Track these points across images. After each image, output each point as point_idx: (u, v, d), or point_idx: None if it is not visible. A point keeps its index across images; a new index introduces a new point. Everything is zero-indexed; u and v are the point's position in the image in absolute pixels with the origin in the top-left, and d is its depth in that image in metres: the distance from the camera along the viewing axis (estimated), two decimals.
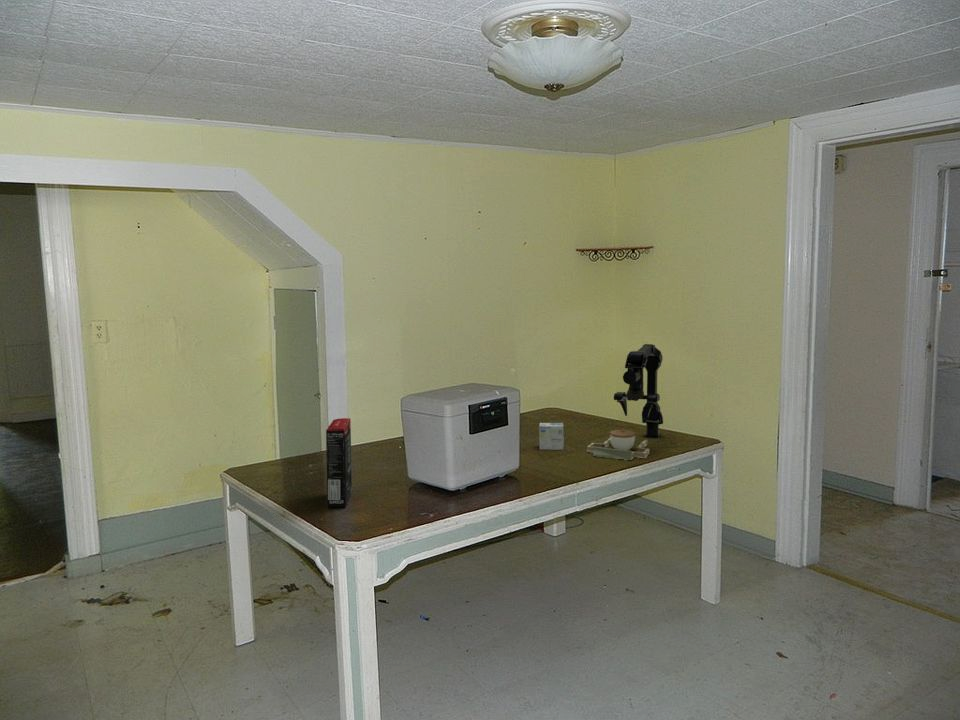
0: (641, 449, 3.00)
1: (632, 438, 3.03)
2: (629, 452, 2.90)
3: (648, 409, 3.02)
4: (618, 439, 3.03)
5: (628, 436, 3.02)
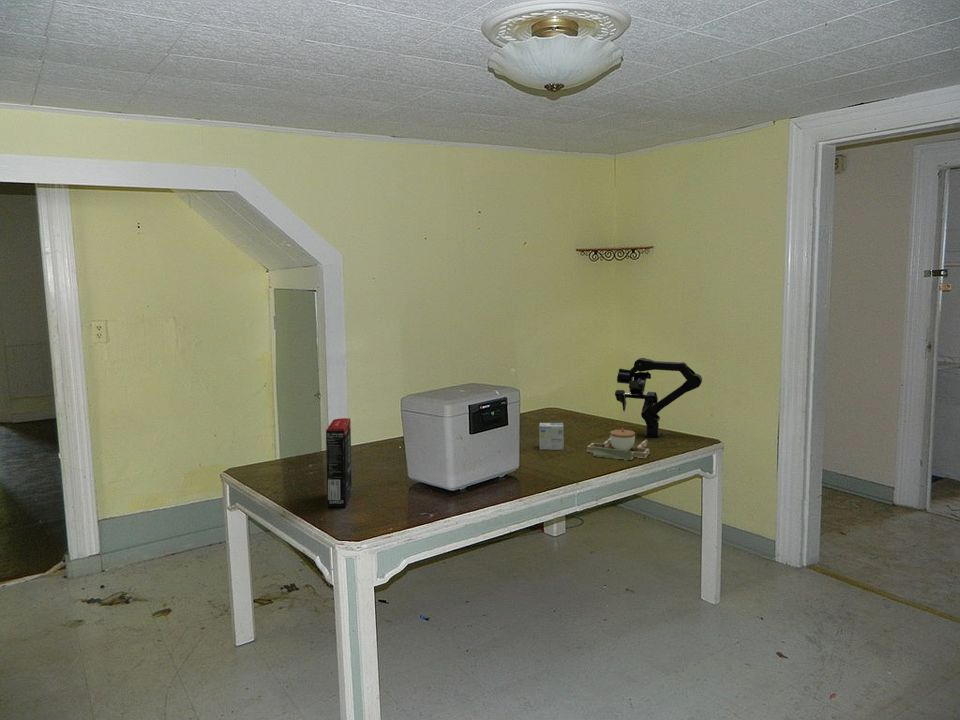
0: (641, 449, 3.00)
1: (632, 438, 3.03)
2: (629, 452, 2.90)
3: (645, 404, 3.20)
4: (618, 439, 3.03)
5: (628, 436, 3.02)
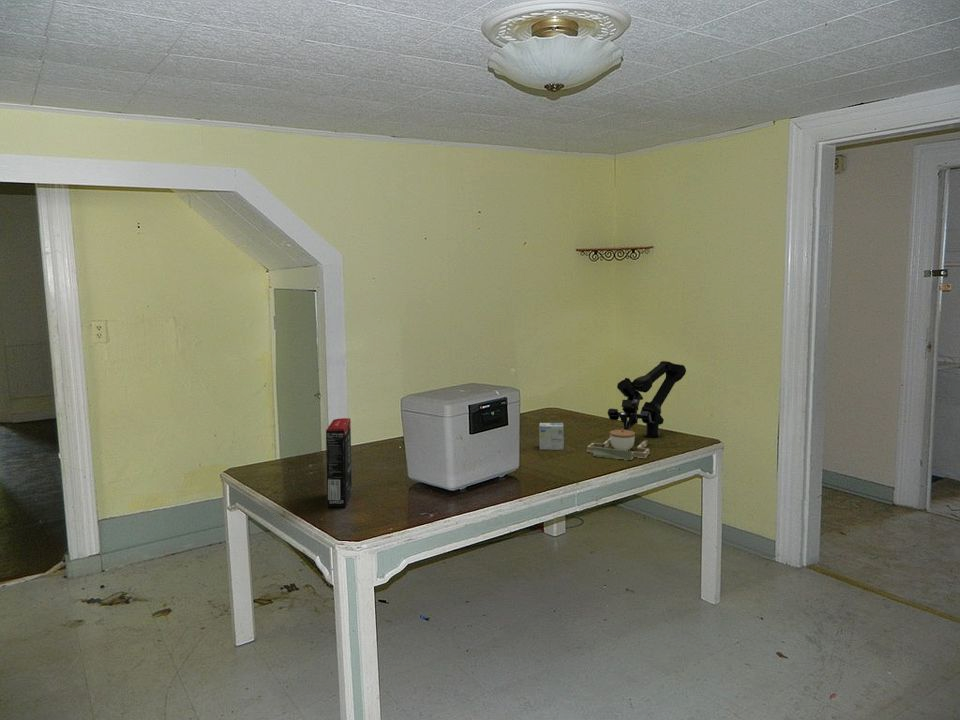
0: (641, 449, 3.00)
1: (632, 438, 3.03)
2: (629, 452, 2.90)
3: (628, 423, 3.12)
4: (618, 439, 3.02)
5: (628, 436, 3.02)
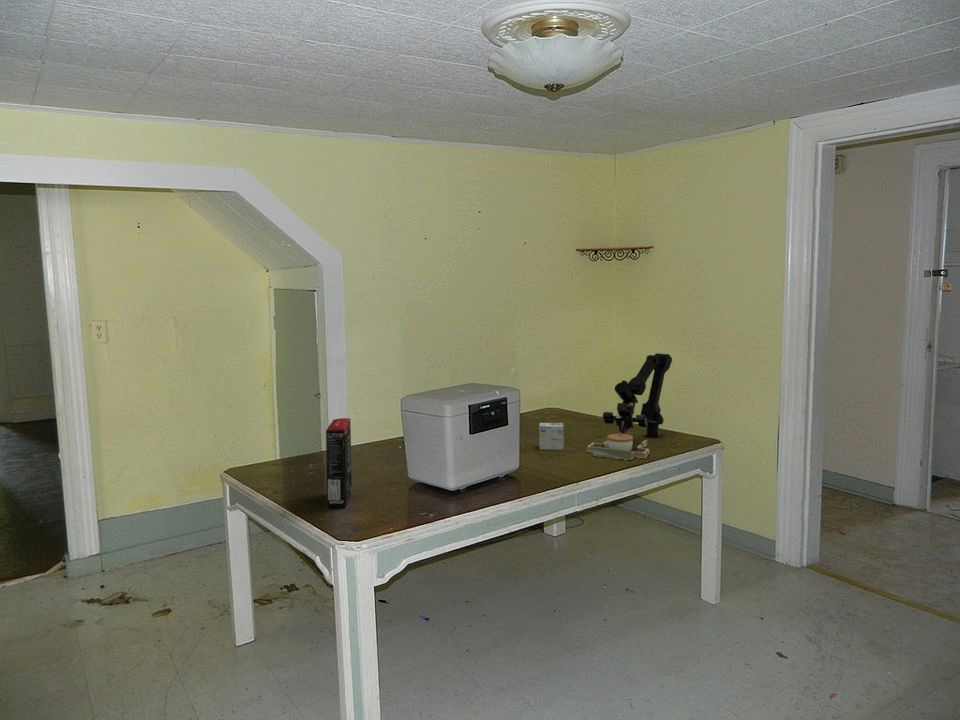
0: (641, 449, 3.00)
1: (631, 442, 2.97)
2: (629, 452, 2.90)
3: (624, 427, 3.06)
4: (619, 444, 2.95)
5: (628, 440, 2.95)
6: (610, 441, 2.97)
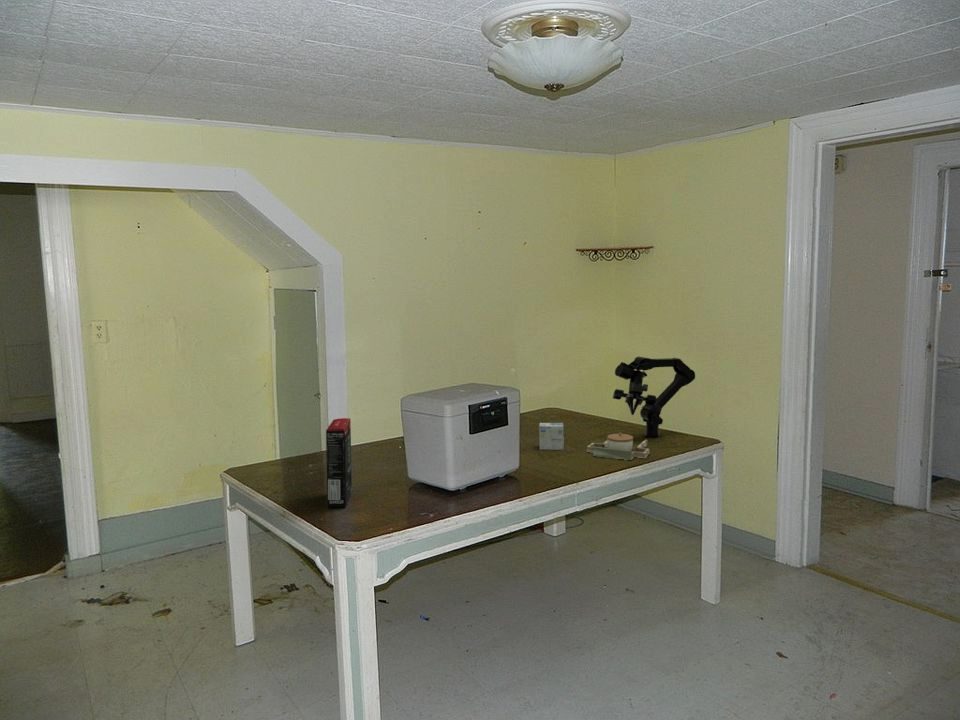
0: (641, 449, 3.00)
1: (631, 442, 2.97)
2: (629, 452, 2.90)
3: (636, 406, 3.18)
4: (619, 444, 2.95)
5: (628, 440, 2.95)
6: (610, 441, 2.97)
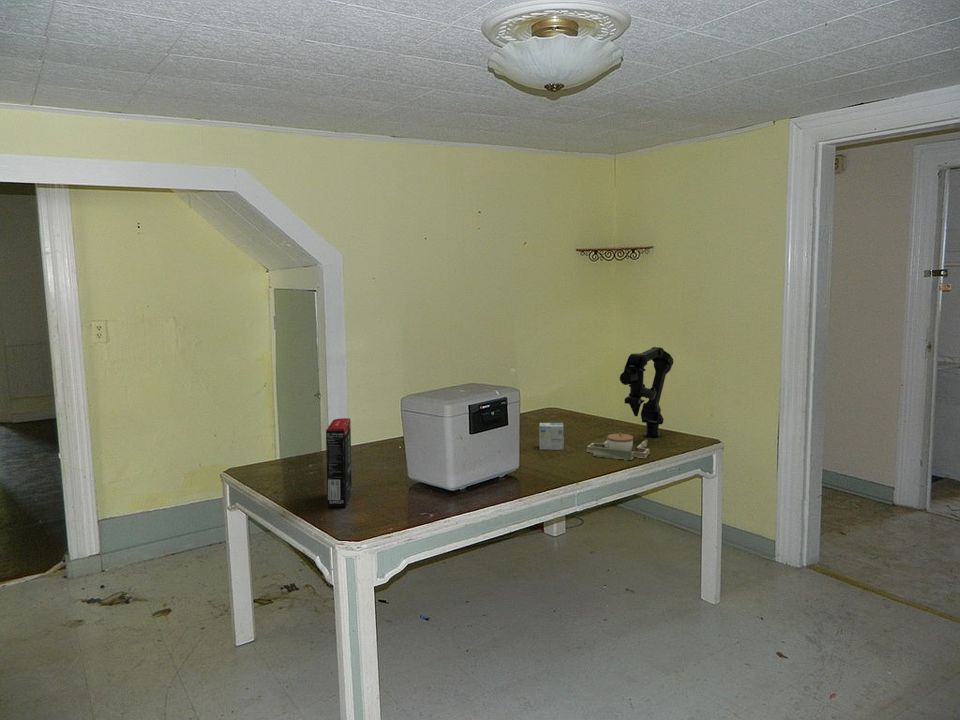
0: (641, 449, 3.00)
1: (631, 442, 2.97)
2: (629, 452, 2.90)
3: (639, 408, 3.18)
4: (619, 444, 2.95)
5: (628, 440, 2.95)
6: (610, 441, 2.97)
